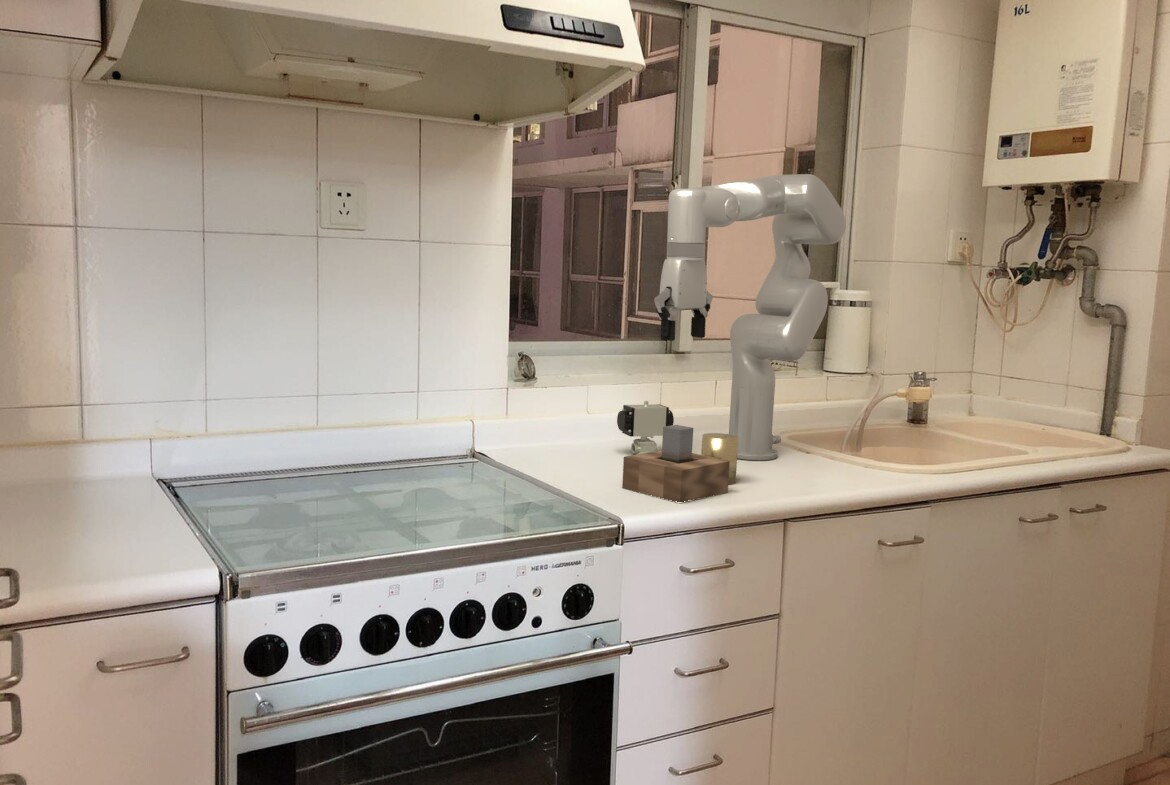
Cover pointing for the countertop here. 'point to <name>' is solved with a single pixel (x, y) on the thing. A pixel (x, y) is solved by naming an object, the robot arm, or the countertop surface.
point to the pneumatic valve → (644, 424)
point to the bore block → (675, 476)
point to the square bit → (677, 444)
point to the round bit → (722, 450)
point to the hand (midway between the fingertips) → (682, 338)
